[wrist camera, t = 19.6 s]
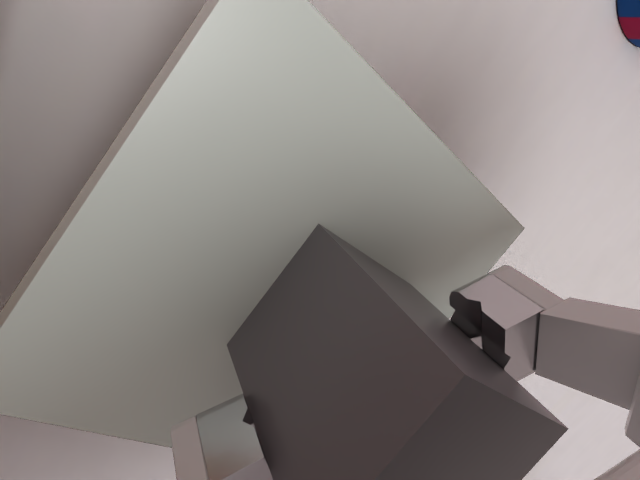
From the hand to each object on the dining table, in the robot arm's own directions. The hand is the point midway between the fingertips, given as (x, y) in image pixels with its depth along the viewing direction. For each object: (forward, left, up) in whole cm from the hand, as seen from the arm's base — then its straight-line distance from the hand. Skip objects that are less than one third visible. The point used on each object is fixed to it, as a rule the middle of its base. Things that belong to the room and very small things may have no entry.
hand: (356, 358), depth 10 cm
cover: (0, +1, -3) cm, 3 cm away
